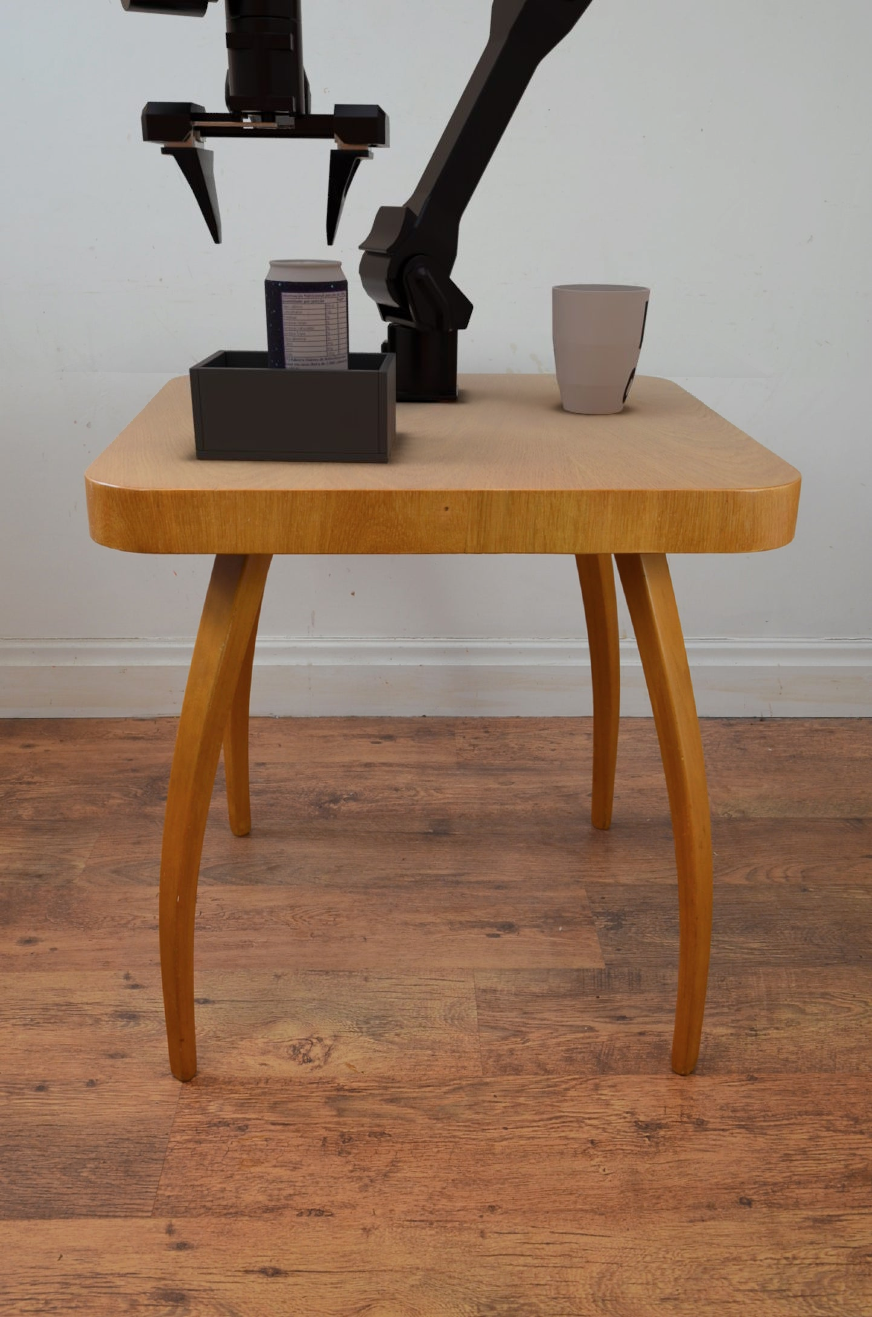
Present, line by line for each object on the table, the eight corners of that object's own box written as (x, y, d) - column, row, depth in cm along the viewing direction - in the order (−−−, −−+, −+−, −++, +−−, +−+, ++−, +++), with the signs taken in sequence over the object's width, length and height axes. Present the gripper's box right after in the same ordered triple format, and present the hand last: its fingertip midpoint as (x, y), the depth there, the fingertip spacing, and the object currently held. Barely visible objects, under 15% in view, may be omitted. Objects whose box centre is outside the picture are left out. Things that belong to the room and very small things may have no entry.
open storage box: (395, 434, 80) (395, 352, 77) (387, 462, 71) (387, 371, 69) (224, 431, 80) (218, 349, 77) (196, 459, 71) (188, 368, 69)
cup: (653, 416, 88) (664, 291, 84) (559, 418, 86) (567, 291, 82) (621, 399, 95) (631, 283, 91) (535, 401, 94) (541, 283, 90)
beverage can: (363, 433, 77) (360, 260, 72) (331, 449, 72) (326, 264, 67) (293, 427, 79) (286, 258, 74) (258, 442, 74) (248, 261, 69)
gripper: (393, 39, 86) (394, 242, 92) (169, 36, 86) (185, 239, 92) (384, 17, 76) (385, 248, 82) (129, 14, 76) (150, 244, 82)
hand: (274, 244), depth 85 cm, fingers open, 9 cm apart
